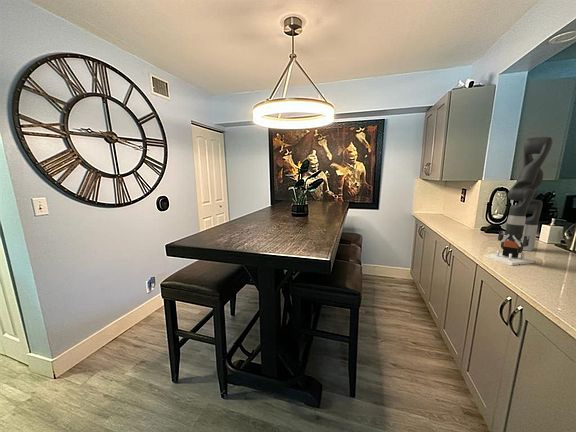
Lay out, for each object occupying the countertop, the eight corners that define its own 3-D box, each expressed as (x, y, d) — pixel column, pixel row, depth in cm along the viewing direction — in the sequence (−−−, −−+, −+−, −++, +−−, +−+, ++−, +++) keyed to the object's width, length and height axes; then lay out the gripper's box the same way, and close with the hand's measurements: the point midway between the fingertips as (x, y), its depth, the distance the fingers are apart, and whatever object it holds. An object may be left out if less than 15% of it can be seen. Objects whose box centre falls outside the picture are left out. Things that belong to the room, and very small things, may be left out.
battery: (517, 258, 137) (520, 241, 135) (501, 255, 142) (504, 239, 140) (518, 256, 140) (520, 239, 138) (502, 253, 145) (505, 237, 143)
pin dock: (507, 254, 150) (508, 246, 149) (534, 262, 137) (536, 254, 136) (485, 257, 146) (486, 249, 145) (511, 265, 132) (513, 256, 131)
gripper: (535, 225, 132) (530, 254, 134) (506, 220, 145) (502, 246, 148) (525, 226, 130) (520, 255, 133) (497, 221, 143) (492, 247, 146)
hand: (510, 250), depth 140 cm, fingers closed on battery, 7 cm apart
